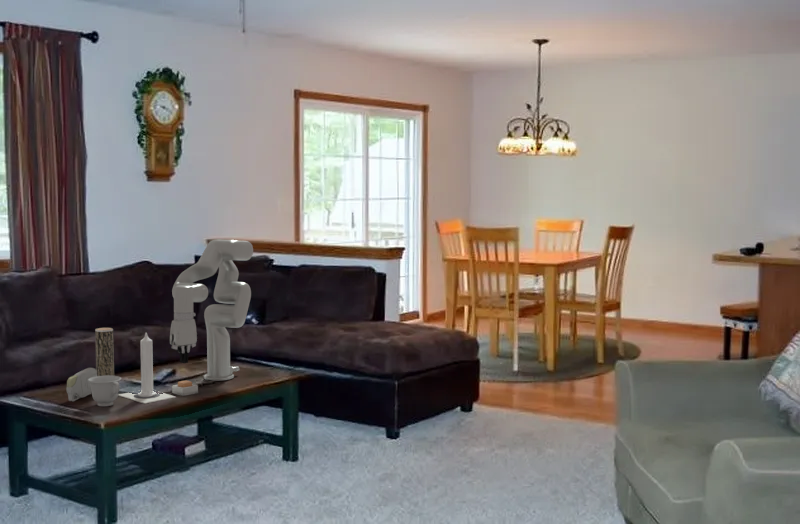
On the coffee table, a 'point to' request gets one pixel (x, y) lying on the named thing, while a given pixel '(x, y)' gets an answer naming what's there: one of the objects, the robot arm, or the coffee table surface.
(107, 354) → the wooden log
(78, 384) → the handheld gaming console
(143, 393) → the candle
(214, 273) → the robot arm
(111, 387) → the teacup
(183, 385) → the button
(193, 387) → the button housing
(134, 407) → the coffee table surface
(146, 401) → the paper sheet
